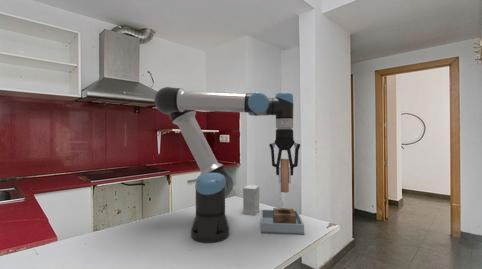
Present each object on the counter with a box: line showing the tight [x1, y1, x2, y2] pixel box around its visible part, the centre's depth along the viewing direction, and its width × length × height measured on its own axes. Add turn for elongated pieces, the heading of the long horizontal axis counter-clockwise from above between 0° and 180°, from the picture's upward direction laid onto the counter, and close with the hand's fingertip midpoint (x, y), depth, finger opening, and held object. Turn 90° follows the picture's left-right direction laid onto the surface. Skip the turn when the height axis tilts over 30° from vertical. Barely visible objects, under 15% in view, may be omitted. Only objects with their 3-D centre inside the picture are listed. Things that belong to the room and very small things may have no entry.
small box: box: [242, 184, 260, 216], centre depth 121 cm, size 8×6×13 cm
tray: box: [260, 209, 305, 236], centre depth 104 cm, size 17×17×4 cm
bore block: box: [272, 207, 296, 224], centre depth 104 cm, size 9×9×5 cm
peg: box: [280, 158, 290, 193], centre depth 103 cm, size 4×4×14 cm
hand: (284, 182), depth 104 cm, fingers closed on peg, 3 cm apart
